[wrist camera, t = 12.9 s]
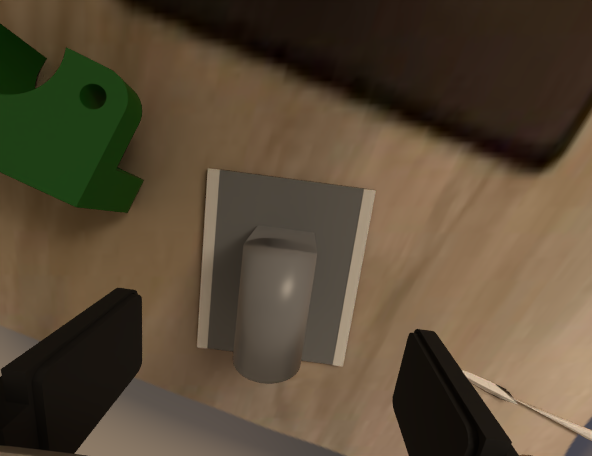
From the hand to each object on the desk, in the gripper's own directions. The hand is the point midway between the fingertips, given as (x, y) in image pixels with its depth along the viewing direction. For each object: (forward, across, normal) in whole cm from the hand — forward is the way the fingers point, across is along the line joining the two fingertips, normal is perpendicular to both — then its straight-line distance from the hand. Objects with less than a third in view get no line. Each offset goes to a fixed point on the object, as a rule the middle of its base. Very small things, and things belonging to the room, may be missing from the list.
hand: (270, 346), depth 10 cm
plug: (+9, 0, +1) cm, 9 cm away
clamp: (+9, +14, -7) cm, 18 cm away
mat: (+9, 0, +1) cm, 9 cm away
